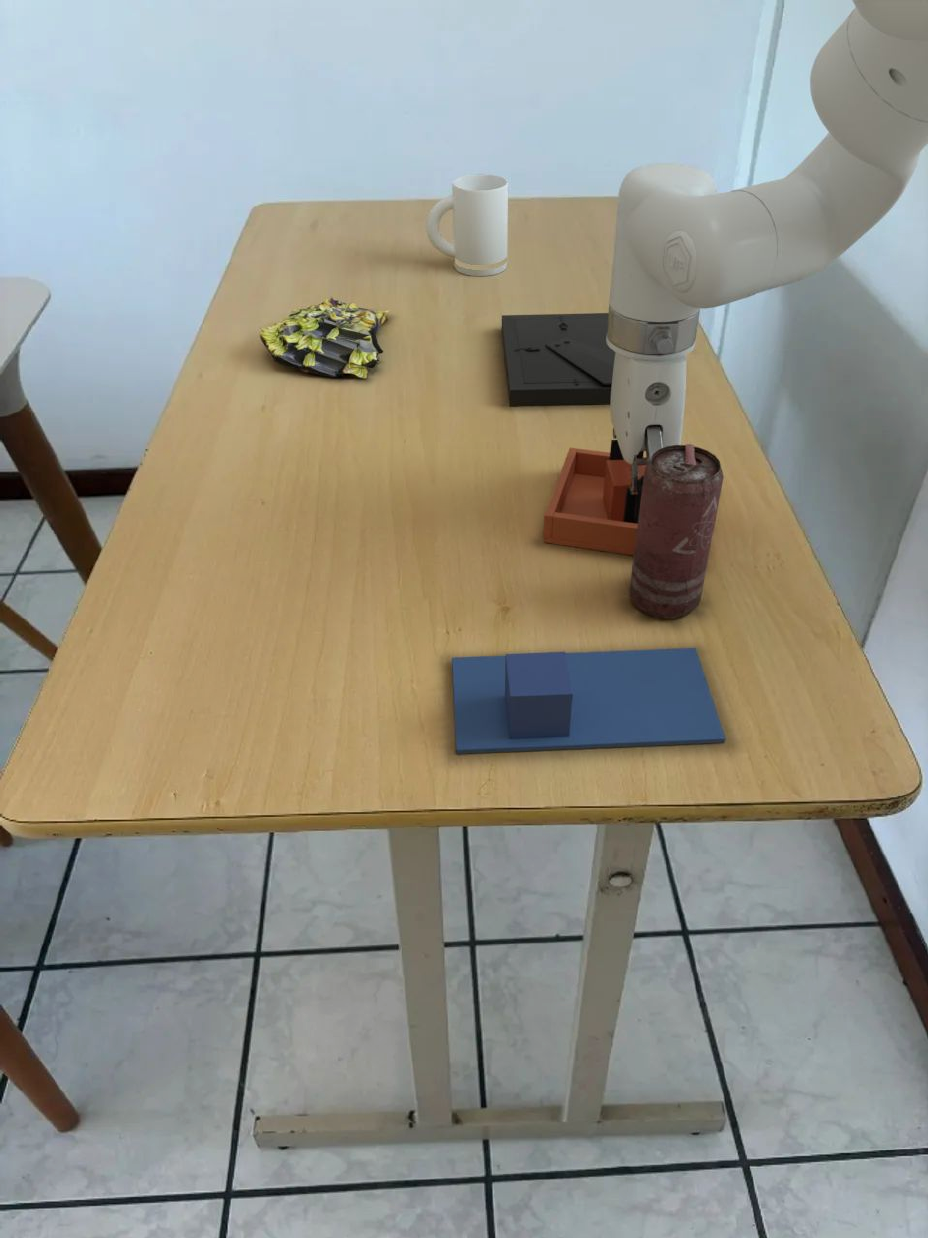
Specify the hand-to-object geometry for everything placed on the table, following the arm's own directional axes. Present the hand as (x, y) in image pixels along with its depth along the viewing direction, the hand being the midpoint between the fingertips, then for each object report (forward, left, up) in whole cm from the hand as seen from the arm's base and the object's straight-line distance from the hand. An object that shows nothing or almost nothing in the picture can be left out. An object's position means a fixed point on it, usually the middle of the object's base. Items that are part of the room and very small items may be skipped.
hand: (632, 499), depth 92 cm
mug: (+33, -60, -2) cm, 68 cm away
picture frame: (+12, -31, -2) cm, 33 cm away
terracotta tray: (0, 0, -2) cm, 2 cm away
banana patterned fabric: (+42, -30, -2) cm, 52 cm away
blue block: (+3, +29, -2) cm, 29 cm away
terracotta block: (0, 0, -1) cm, 1 cm away
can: (-5, +12, -2) cm, 13 cm away
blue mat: (0, +26, -2) cm, 26 cm away
